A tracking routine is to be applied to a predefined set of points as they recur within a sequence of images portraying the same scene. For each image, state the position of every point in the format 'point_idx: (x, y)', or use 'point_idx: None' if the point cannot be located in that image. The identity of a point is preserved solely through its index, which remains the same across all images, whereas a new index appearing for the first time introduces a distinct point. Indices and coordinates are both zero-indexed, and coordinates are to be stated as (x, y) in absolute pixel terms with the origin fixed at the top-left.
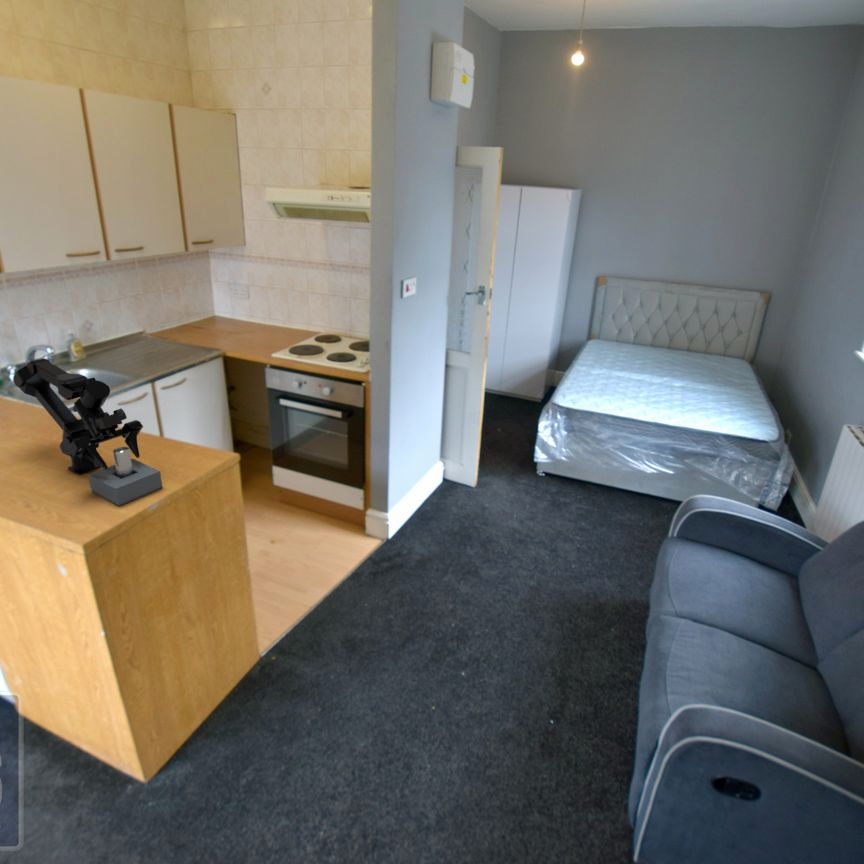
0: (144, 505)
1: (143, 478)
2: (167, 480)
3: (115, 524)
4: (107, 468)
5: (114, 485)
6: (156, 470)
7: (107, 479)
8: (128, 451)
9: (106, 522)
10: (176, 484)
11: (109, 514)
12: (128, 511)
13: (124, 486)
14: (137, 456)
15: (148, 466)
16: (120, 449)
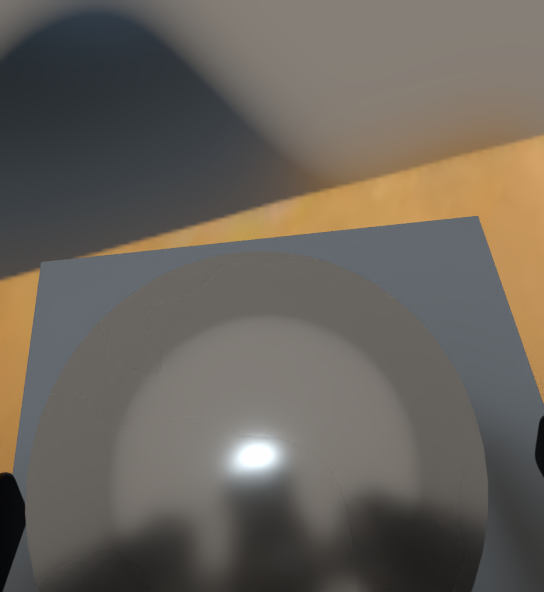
0: (301, 222)
1: (213, 249)
2: (9, 419)
3: (496, 152)
4: (541, 425)
5: (468, 276)
6: (49, 294)
7: (491, 449)
8: (154, 294)
9: (532, 195)
10: (22, 321)
11: (496, 259)
12: (397, 220)
13: (394, 231)
14: (10, 502)
15: (28, 435)
16: (248, 505)
